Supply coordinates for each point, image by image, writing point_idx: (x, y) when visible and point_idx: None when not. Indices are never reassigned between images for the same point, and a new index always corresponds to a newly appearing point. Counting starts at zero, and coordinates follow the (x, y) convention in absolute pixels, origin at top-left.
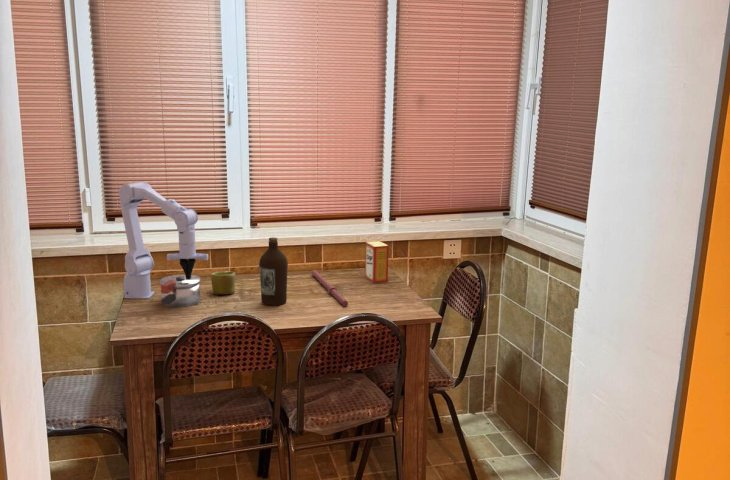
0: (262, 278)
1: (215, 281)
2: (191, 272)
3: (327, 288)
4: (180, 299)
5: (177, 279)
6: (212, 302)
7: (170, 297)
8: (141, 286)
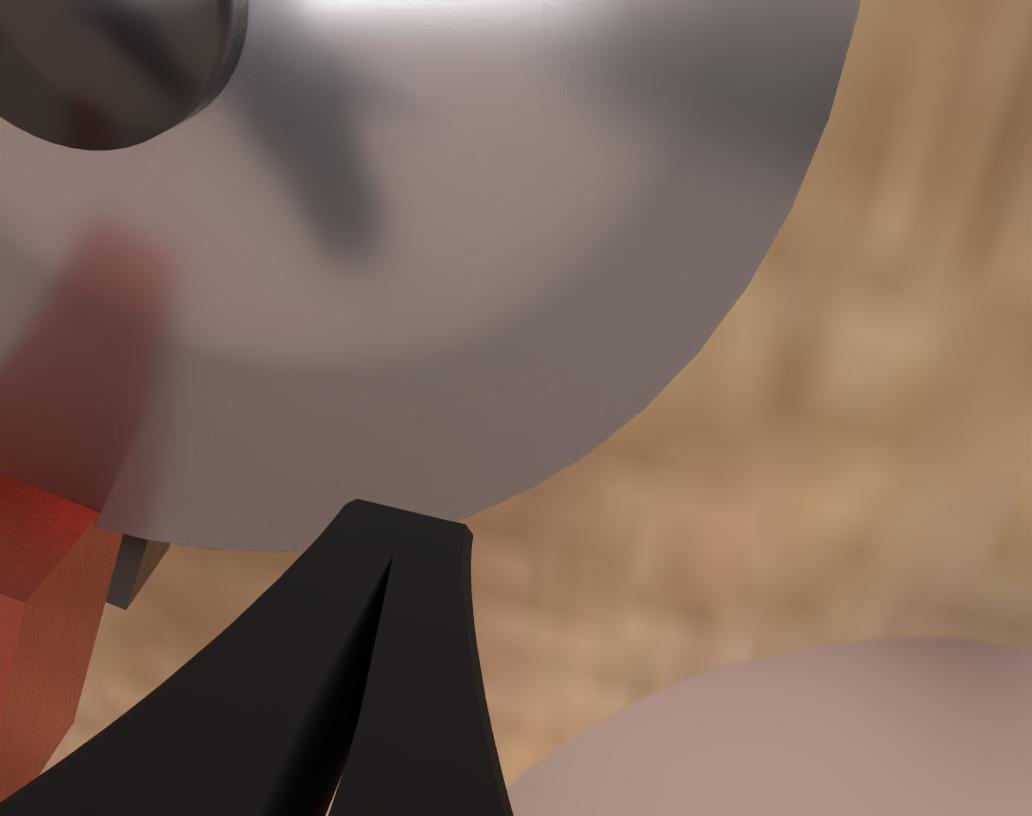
0: None
1: None
2: (462, 676)
3: None
4: None
5: (8, 102)
6: (926, 178)
7: (141, 539)
8: None
